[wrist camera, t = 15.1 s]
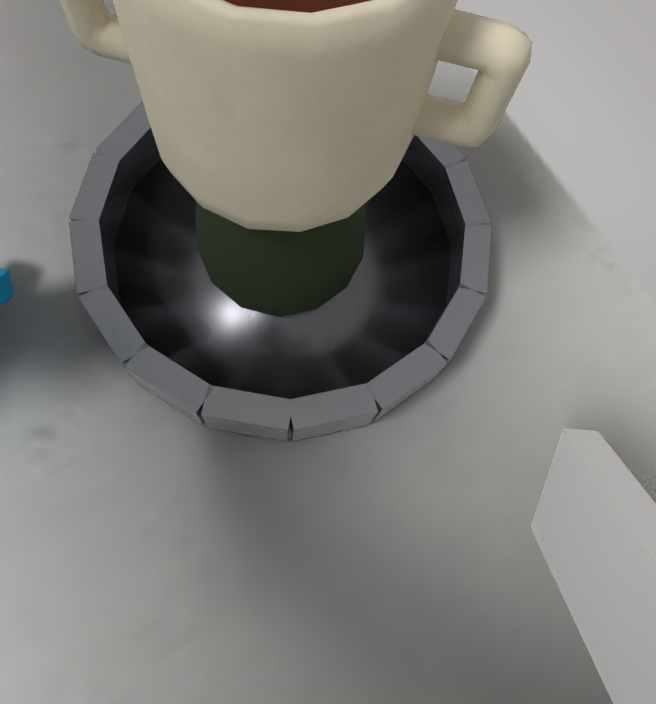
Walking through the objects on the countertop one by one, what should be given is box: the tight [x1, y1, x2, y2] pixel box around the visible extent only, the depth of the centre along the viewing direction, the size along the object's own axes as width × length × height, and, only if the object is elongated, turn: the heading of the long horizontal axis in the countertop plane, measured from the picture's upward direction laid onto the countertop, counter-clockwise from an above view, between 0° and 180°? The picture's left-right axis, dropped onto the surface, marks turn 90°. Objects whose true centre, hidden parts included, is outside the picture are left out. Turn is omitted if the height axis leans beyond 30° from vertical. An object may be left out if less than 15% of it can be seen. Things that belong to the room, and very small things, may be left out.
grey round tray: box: [69, 101, 492, 441], centre depth 22 cm, size 15×15×2 cm
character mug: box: [59, 0, 532, 317], centre depth 16 cm, size 11×7×13 cm, turn 77°
